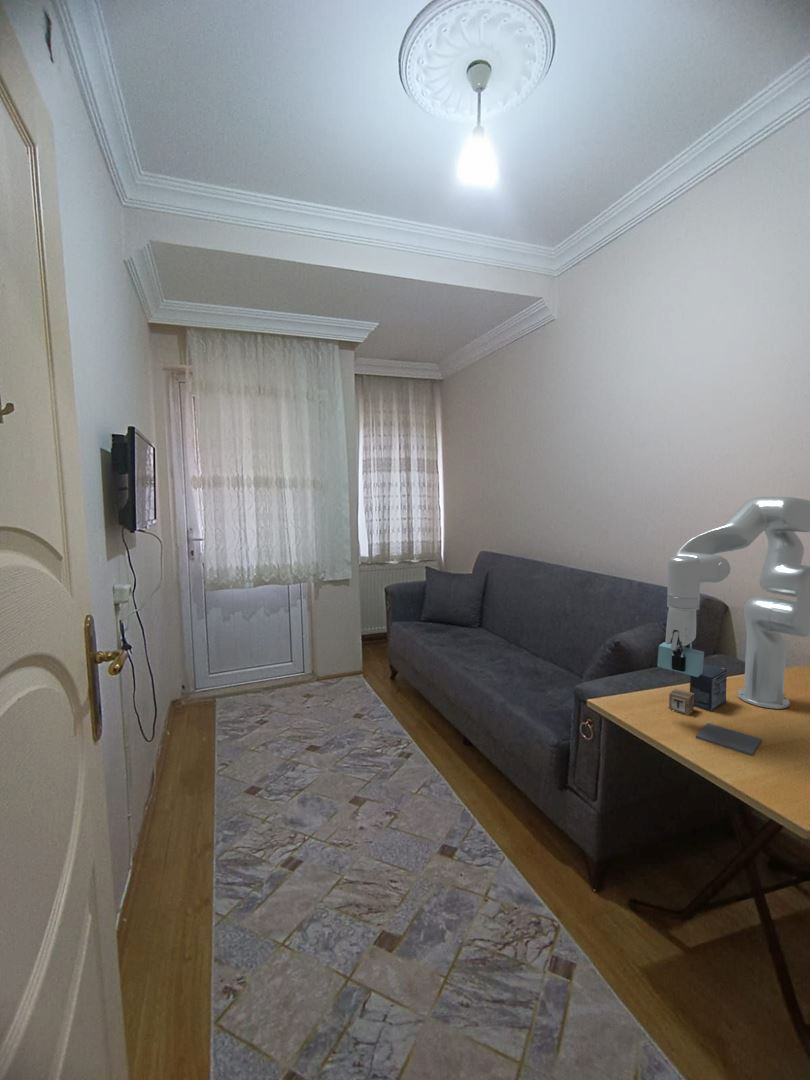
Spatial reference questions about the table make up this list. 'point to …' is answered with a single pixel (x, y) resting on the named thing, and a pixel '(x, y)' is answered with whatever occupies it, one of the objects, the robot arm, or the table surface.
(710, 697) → the small box
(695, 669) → the teal rectangular block
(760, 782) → the table surface
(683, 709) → the wooden letter block
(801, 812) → the table surface
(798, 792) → the table surface
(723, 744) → the dark gray block
